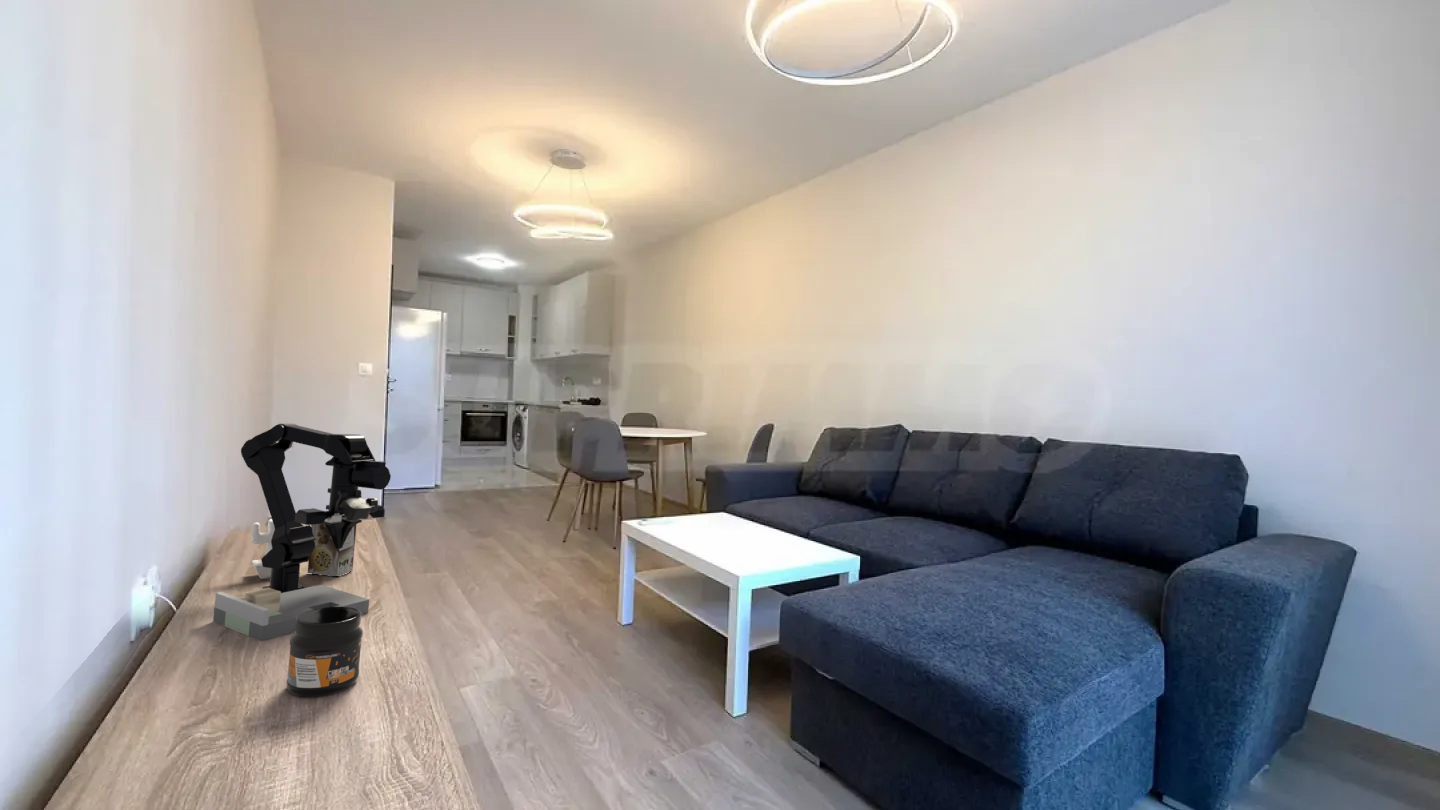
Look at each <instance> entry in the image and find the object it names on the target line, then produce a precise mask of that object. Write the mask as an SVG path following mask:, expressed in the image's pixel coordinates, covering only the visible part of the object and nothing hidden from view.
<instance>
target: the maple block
mask: <svg viewBox="0 0 1440 810" xmlns="http://www.w3.org/2000/svg"><path fill="white" fill-rule="evenodd" d="M280 596H281V592H280V591H277V590H274V589H271V588H264V589H263V588H261V589H255V590H250V591H246V592H244V597H243V598H244V599H243V600H245V601H248V602H250V603H253V604H256V605H258V606H261V607H264V608H267V609H269V613H271V612H275V611H279V606H280Z"/></svg>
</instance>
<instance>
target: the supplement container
mask: <svg viewBox="0 0 1440 810" xmlns="http://www.w3.org/2000/svg"><path fill="white" fill-rule="evenodd" d="M361 621H362V614H361V612H360V611H359V610H358V609H355V608H351V607H326V608H319V609H315V610H311V611H308V612H305V613H303V614H301V615H299V616H298V617H297V618H296V622H295V631H296V632H294V634H292V636H291V637H290V640H289V648H290V649H289V658H288V659H289V661H288V668H287V669H288V670H287V677H286V678H287V679H286V688H287V690H288V692H290V693H291V694H293V695H296V696H298V697H299V696H300V697H305V698H306V697H307V698H308V697H309V698H313V697H314V698H315V697H323V696H329V695H332V694H336V693H338V692H342V691H344V690H345V689H348V688H349V687H350V686H352V685H353V684H355V682H356V681H357V680H358V678H359V676H360V661H361V649H362V640H363V639H362V638H363V635H364V631H363V629H362V627H361V626H360V625H361V623H362V622H361Z"/></svg>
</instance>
